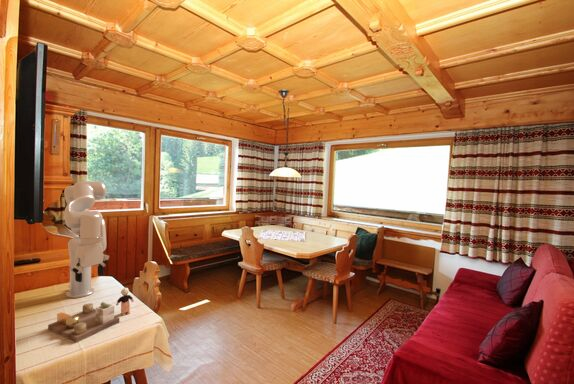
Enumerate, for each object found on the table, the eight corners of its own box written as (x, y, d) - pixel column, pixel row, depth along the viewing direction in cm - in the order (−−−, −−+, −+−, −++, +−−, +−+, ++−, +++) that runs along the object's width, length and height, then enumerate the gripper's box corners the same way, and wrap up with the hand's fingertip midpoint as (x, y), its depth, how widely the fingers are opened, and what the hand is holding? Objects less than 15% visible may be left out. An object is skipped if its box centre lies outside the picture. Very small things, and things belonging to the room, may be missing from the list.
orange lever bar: (81, 325, 122) (81, 316, 122) (69, 329, 118) (70, 321, 118) (65, 318, 127) (65, 310, 127) (53, 322, 123) (53, 314, 123)
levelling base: (48, 329, 122) (48, 307, 121) (91, 312, 138) (91, 292, 138) (76, 342, 114) (76, 319, 113) (119, 322, 130) (119, 301, 130)
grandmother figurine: (130, 309, 142) (130, 284, 141) (134, 312, 140) (135, 286, 139) (114, 315, 136) (114, 289, 135) (118, 318, 134) (118, 291, 133)
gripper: (103, 236, 138) (103, 271, 139) (64, 243, 122) (63, 282, 123) (114, 238, 135) (113, 273, 136) (75, 245, 119) (75, 285, 120)
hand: (90, 278), depth 130 cm, fingers open, 9 cm apart
